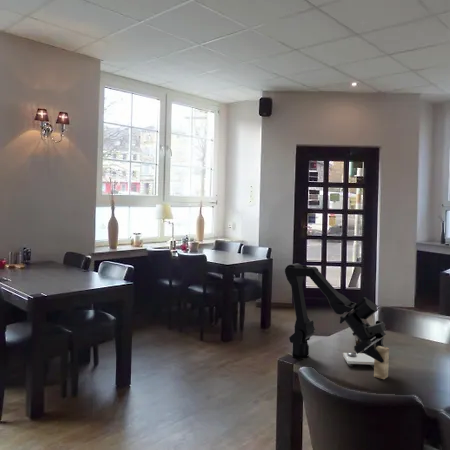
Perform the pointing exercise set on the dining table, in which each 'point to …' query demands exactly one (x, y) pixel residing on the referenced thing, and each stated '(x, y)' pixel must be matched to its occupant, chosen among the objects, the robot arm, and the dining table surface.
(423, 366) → the dining table surface
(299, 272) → the robot arm
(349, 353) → the silver metal dome
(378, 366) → the beech post
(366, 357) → the white square board
